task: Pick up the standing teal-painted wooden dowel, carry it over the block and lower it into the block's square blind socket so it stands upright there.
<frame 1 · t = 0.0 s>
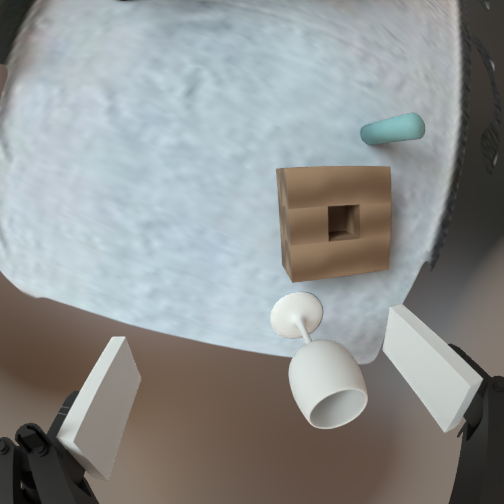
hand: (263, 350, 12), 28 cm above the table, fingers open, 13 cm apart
socket block: (326, 214, 40), on the table
wineglass: (296, 315, 44), on the table
dowel: (369, 134, 37), on the table
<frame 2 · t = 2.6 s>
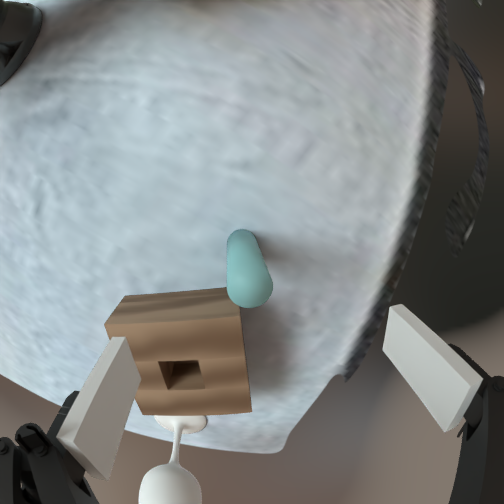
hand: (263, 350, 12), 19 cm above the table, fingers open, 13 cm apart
socket block: (188, 340, 34), on the table
wineglass: (180, 417, 38), on the table
dowel: (241, 243, 31), on the table
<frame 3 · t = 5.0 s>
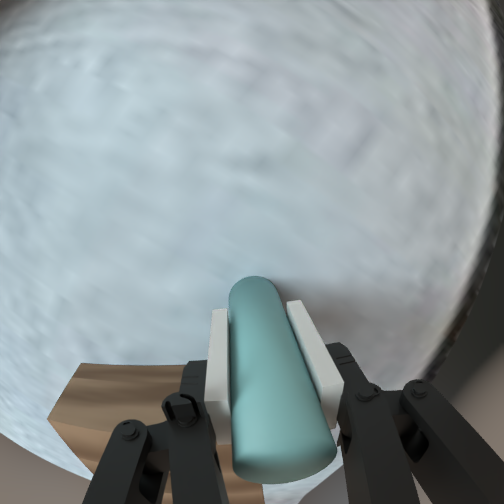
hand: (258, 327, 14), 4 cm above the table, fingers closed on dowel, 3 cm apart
socket block: (176, 421, 21), on the table
dowel: (253, 299, 18), on the table, touching gripper
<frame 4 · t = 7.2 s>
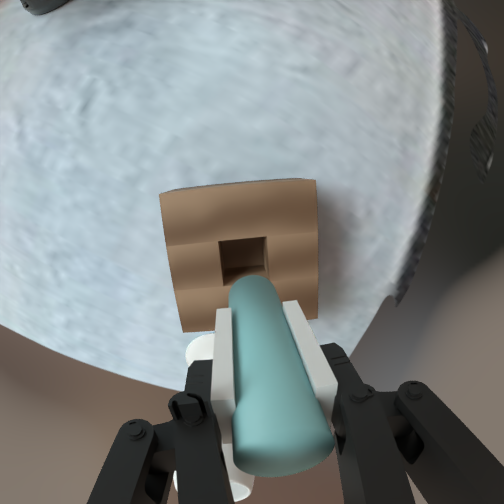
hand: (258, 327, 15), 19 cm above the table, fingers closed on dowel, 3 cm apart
socket block: (241, 243, 32), on the table
wineglass: (216, 356, 37), on the table
dowel: (252, 297, 18), point 15 cm above the table, touching gripper
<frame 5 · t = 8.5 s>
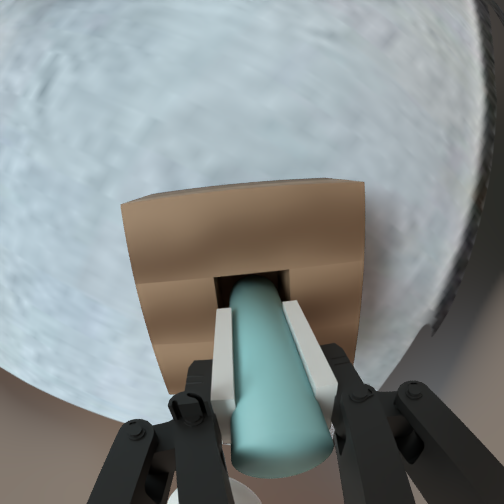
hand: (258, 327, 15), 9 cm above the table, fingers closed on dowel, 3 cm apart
socket block: (247, 268, 23), on the table
wineglass: (216, 403, 28), on the table
dowel: (253, 297, 18), point 5 cm above the table, touching gripper
when the fingers open (8 cm above the table, at t = 9.5 s): dowel drops 2 cm, resting on socket block.
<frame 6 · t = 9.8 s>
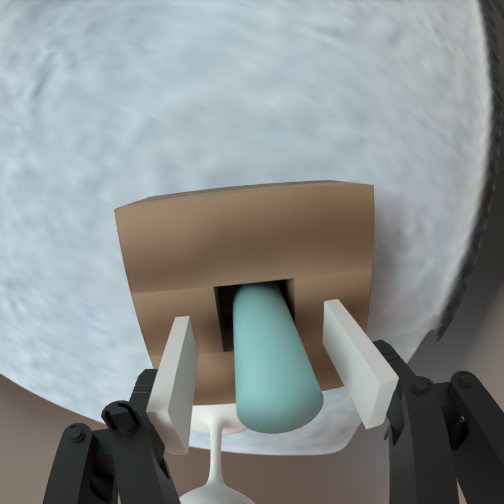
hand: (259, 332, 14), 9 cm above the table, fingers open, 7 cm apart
socket block: (248, 274, 22), on the table
wineglass: (216, 411, 27), on the table
dowel: (254, 284, 20), point 2 cm above the table, touching socket block
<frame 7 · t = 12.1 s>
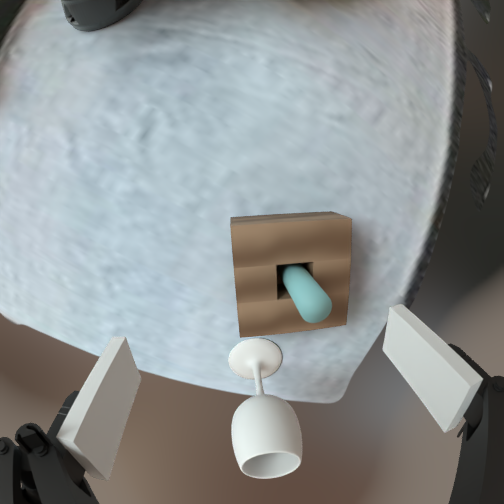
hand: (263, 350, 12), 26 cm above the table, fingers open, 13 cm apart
socket block: (284, 263, 39), on the table
wineglass: (255, 358, 43), on the table
dowel: (289, 268, 37), point 2 cm above the table, touching socket block
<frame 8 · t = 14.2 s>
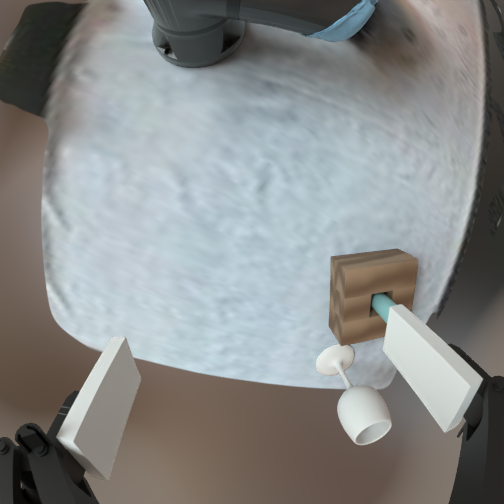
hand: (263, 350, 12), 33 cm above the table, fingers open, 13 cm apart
socket block: (364, 288, 49), on the table
wineglass: (334, 359, 53), on the table
dowel: (370, 292, 47), point 2 cm above the table, touching socket block
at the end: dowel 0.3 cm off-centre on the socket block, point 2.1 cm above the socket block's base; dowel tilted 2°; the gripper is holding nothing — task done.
